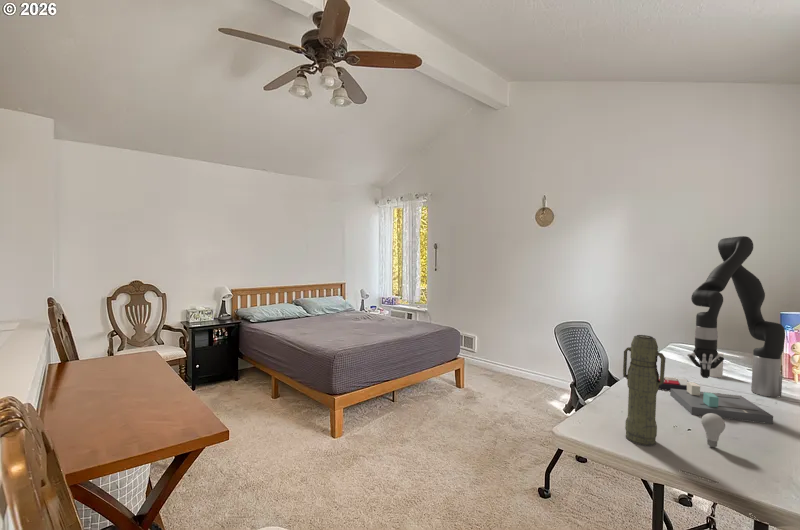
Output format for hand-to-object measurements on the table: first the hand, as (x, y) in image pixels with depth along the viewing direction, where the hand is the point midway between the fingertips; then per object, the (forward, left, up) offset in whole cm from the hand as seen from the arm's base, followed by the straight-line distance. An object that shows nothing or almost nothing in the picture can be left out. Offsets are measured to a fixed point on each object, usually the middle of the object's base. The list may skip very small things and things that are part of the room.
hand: (704, 377), depth 166 cm
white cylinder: (-22, -48, -11) cm, 54 cm away
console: (-2, +6, -11) cm, 13 cm away
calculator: (+7, -17, -11) cm, 21 cm away
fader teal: (+3, +13, -7) cm, 15 cm away
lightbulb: (+16, +46, -11) cm, 50 cm away
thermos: (+37, +48, -11) cm, 62 cm away
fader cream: (+4, 0, -7) cm, 8 cm away
